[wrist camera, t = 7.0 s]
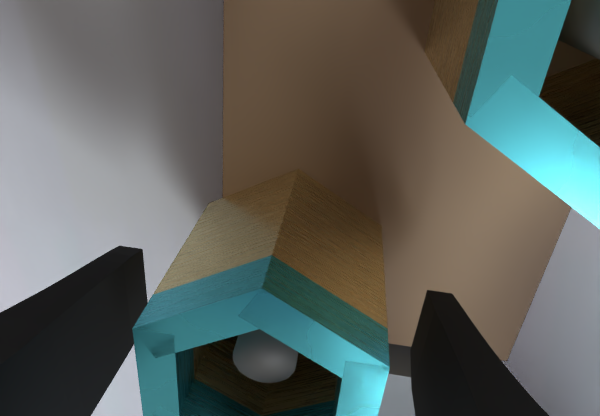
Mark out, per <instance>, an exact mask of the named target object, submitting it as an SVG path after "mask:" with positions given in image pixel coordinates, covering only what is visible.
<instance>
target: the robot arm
mask: <svg viewBox="0 0 600 416" xmlns="http://www.w3.org/2000/svg"><path fill="white" fill-rule="evenodd" d="M147 304H148V303H147V293H146V282H145V272H144V261H143V250H142V249H138V248H131V247H124V246H118V247H116V248H114V249H112V250H111V251H109V252H107V253H105V254H104V255H102V256H100V257H99V258H97V259H95V260H94V261H92V262H90V263H89V264H87V265H85V266H84V267H82V268H80V269H79V270H77V271H75V272H73V273H72V274H70V275H68V276H67V277H65V278H63V279H61V280H60V281H58V282H56V283H55V284H53V285H51V286H49V287H48V288H46V289H44V290H42V291H40V292H38V293H37V294H35V295H33V296H31V297H29V298H27V299H25V300H24V301H22V302H20V303H18V304H16V305H14V306H12V307H10V308H9V309H7V310H5V311H3V312H1V313H0V416H91V414H92V413H93V411H94V409H95V408H96V406H97V404H98V403H99V401H100V400H101V398H102V396H103V395H104V393H105V391H106V390H107V388H108V386H109V385H110V383H111V382H112V380H113V378H114V377H115V375H116V373H117V372H118V370H119V368H120V367H121V365H122V363H123V362H124V360H125V358H126V357H127V355H128V353H129V352H130V350H131V348H132V346H133V344H134V338H133V330H132V328H133V327H134V325H135V323H136V322H137V320H138V318H139V317H140V315H141V313H142V312H143V310H144V309H145V307H146V305H147ZM410 357H411V389H412V396H413V403H414V409H415V416H549V415H548V414H547V413H546V412H545V411H544V410H543V409H542V408H541V407H540V406H539V405H538V404H537V403H536V401H535V400H534V399H533V398H532V397H531V396H530V395H529V394H528V393H527V391H526V390H525V389H524V388H523V387H522V386H521V384H520V383H519V382H518V381H517V380H516V379H515V377H514V376H513V375H512V374H511V373H510V371H509V370H508V369H507V368H506V366H505V365H504V364H503V363H502V361H501V360H500V359H499V357H498V356H497V355H496V353H495V352H494V351H493V350H492V348H491V347H490V346H489V344H488V343H487V342H486V340H485V339H484V337H483V336H482V335H481V333H480V332H479V331H478V329H477V328H476V326H475V325H474V324H473V322H472V321H471V319H470V318H469V316H468V315H467V314H466V312H465V311H464V309H463V308H462V306H461V305H460V303H459V302H458V301H457V299H456V298H455V297H454V295H453V294H452V293H446V292H439V291H432V290H427V292H426V295H425V299H424V303H423V306H422V310H421V314H420V317H419V321H418V325H417V328H416V332H415V335H414V339H413V343H412V346H411V350H410Z"/></svg>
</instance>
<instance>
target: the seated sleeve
mask: <svg viewBox="0 0 600 416" xmlns="http://www.w3.org/2000/svg"><path fill="white" fill-rule="evenodd" d="M570 3H571V0H435V3H434V8H433V13H432V18H431V23H430V27H429V32H428V37H427V42H426V47H425V51H424V52H425V54H426V56H427V58H428V59H429V61H430V63H431V65H432V66H433V68H434V70H435V72H436V74H437V75H438V77H439V79H440V81H441V82H442V84H443V86H444V88H445V90H446V91H447V93H448V95H449V97H450V98H451V100H452V102H453V104H454V106H455V107H456V109H457V111H458V113H459V114H460V116H461V118H462V120H463V122H464V123H465V125H467V126H468V127H469V128H471V129H472V130H473V131H475V132H476V133H477V134H478V135H480V136H481V137H482V138H483V139H485V140H486V141H487V142H489V143H490V144H491V145H492V146H494V147H495V148H496V149H498V150H499V151H500V152H501V153H503V154H504V155H505V156H507V157H508V158H509V159H510V160H512V161H513V162H514V163H516V164H517V165H518V166H519V167H521V168H522V169H523V170H525V171H526V172H527V173H528V174H530V175H531V176H532V177H534V178H535V179H536V180H537V181H539V182H540V183H541V184H543V185H544V186H545V187H546V188H548V189H549V190H550V191H552V192H553V193H554V194H555V195H557V196H558V197H559V198H561V199H562V200H563V201H564V202H566V203H567V204H568V205H570V206H571V207H572V208H573V209H575V210H576V211H577V212H579V213H580V214H581V215H582V216H584V217H585V218H586V219H588V220H589V221H590V222H591V223H593V224H594V225H595V226H597V227H598V228H599V229H600V60H599V59H597V58H596V59H593V60H591V61H588V62H586V63H583V64H580V65H578V66H575V67H572V68H570V69H567V70H565V71H562V72H559V73H557V74H554V75H551V76H549V77H546V74H547V71H548V68H549V65H550V62H551V59H552V56H553V53H554V50H555V47H556V44H557V41H558V38H559V35H560V32H561V29H562V26H563V23H564V20H565V18H566V15H567V12H568V9H569V6H570ZM545 77H546V78H545Z"/></svg>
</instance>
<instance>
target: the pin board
mask: <svg viewBox="0 0 600 416" xmlns="http://www.w3.org/2000/svg"><path fill="white" fill-rule="evenodd" d="M434 3H435V0H224V32H223V198H224V197H226V196H229V195H231V194H234V193H236V192H239V191H242V190H244V189H247V188H249V187H252V186H254V185H257V184H260V183H262V182H265V181H267V180H270V179H272V178H275V177H278V176H280V175H283V174H285V173H288V172H290V171H293V170H296V169H300V170H301V171H303V172H304V173H306V174H307V175H309V176H310V177H311V178H313V179H314V180H316V181H317V182H319V183H320V184H322V185H323V186H325V187H326V188H327V189H329V190H330V191H332V192H333V193H335V194H336V195H338V196H339V197H341V198H342V199H344V200H345V201H346V202H348V203H349V204H351V205H352V206H354V207H355V208H357V209H358V210H360V211H361V212H362V213H364V214H365V215H367V216H368V217H370V218H371V219H373V220H374V221H376V222H377V223H378V224H380V225H382V240H383V257H384V274H385V291H386V309H387V326H388V343H390V344H396V345H403V346H410V347H411V346H412V343H413V339H414V335H415V332H416V328H417V325H418V321H419V317H420V314H421V310H422V306H423V303H424V299H425V295H426V292H427V290H432V291H439V292H446V293H452V294H453V295H454V297H455V298H456V299H457V301H458V302H459V303H460V305H461V306H462V308H463V309H464V311H465V312H466V314H467V315H468V316H469V318H470V319H471V321H472V322H473V324H474V325H475V326H476V328H477V329H478V331H479V332H480V333H481V335H482V336H483V337H484V339H485V340H486V342H487V343H488V344H489V346H490V347H491V348H492V350H493V351H494V352H495V353H496V355H497V356H498V357H499V359H500V360H502V361H507V360H508V357H509V355H510V352H511V350H512V348H513V345H514V343H515V341H516V338H517V336H518V333H519V331H520V329H521V326H522V324H523V321H524V319H525V317H526V314H527V312H528V310H529V307H530V305H531V302H532V300H533V298H534V295H535V293H536V291H537V288H538V286H539V283H540V281H541V279H542V276H543V274H544V272H545V269H546V267H547V264H548V262H549V260H550V257H551V255H552V252H553V250H554V248H555V245H556V243H557V241H558V238H559V236H560V233H561V231H562V229H563V226H564V224H565V222H566V219H567V217H568V214H569V212H570V210H571V206H570V205H568V204H567V203H566V202H564V201H563V200H562V199H561V198H559V197H558V196H557V195H555V194H554V193H553V192H552V191H550V190H549V189H548V188H546V187H545V186H544V185H543V184H541V183H540V182H539V181H537V180H536V179H535V178H534V177H532V176H531V175H530V174H528V173H527V172H526V171H525V170H523V169H522V168H521V167H519V166H518V165H517V164H516V163H514V162H513V161H512V160H510V159H509V158H508V157H507V156H505V155H504V154H503V153H501V152H500V151H499V150H498V149H496V148H495V147H494V146H492V145H491V144H490V143H489V142H487V141H486V140H485V139H483V138H482V137H481V136H480V135H478V134H477V133H476V132H475V131H473V130H472V129H471V128H469V127H468V126H467V125H465V123H464V122H463V120H462V118H461V116H460V114H459V113H458V111H457V109H456V107H455V106H454V104H453V102H452V100H451V98H450V97H449V95H448V93H447V91H446V90H445V88H444V86H443V84H442V82H441V81H440V79H439V77H438V75H437V74H436V72H435V70H434V68H433V66H432V65H431V63H430V61H429V59H428V58H427V56H426V54H425V52H424V51H425V47H426V42H427V37H428V32H429V27H430V23H431V18H432V13H433V8H434ZM596 58H597V59H599V60H600V0H571V3H570V6H569V9H568V12H567V15H566V18H565V20H564V23H563V26H562V29H561V32H560V35H559V38H558V41H557V44H556V47H555V50H554V53H553V56H552V59H551V62H550V65H549V68H548V71H547V74H546V77H549V76H551V75H554V74H557V73H559V72H562V71H565V70H567V69H570V68H572V67H575V66H578V65H580V64H583V63H586V62H588V61H591V60H593V59H596ZM546 77H545V78H546ZM297 357H298V352H297V351H296V350H294V349H292V348H291V347H289V346H287V345H286V344H284V343H282V342H281V341H279V340H277V339H276V338H274V337H272V336H271V335H269V334H267V333H265V332H264V331H262V330H260V329H258V330H254V331H251V332H247V333H244V334H240V335H238V338H237V341H236V344H235V347H234V350H233V361H234V364H235V366H236V367H237V369H238V370H239V371H240V372H241V373H242V374H244V375H245V376H247V377H248V378H250V379H252V380H255V381H258V382H263V383H276V382H280V381H283V380H285V379H287V378H289V377H290V376H291V375H292V374H293V372H294V371H295V368H296V364H297Z"/></svg>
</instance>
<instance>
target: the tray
mask: <svg viewBox="0 0 600 416" xmlns="http://www.w3.org/2000/svg"><path fill="white" fill-rule="evenodd" d="M410 350H411V347H410V346H403V345H396V344H390V343H389V360H390V368H389V372H388V376H387V381H386V385H385V389H384V393H383V397H382V401H381V405H380V409H379V413H378V416H415V409H414V403H413V396H412V389H411V357H410Z"/></svg>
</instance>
